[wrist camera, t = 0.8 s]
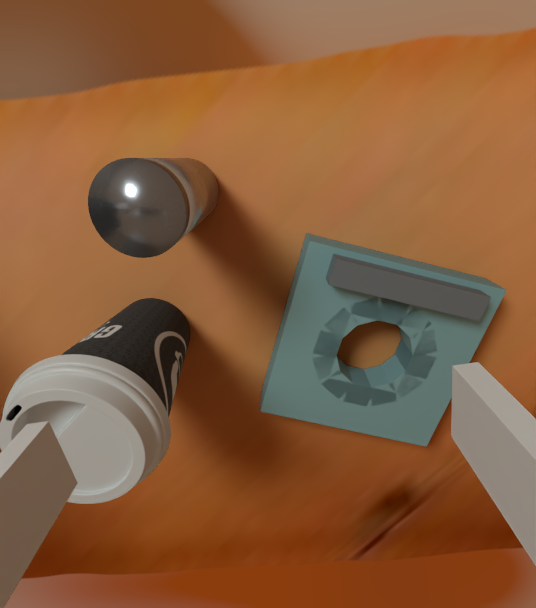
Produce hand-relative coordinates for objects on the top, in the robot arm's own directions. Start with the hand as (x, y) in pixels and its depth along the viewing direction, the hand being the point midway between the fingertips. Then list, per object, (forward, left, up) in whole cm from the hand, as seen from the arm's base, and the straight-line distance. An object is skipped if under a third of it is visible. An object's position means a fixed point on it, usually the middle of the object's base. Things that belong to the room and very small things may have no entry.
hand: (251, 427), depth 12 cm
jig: (+11, -5, -21) cm, 24 cm away
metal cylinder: (-7, +4, -21) cm, 22 cm away
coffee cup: (-8, -9, -21) cm, 24 cm away
